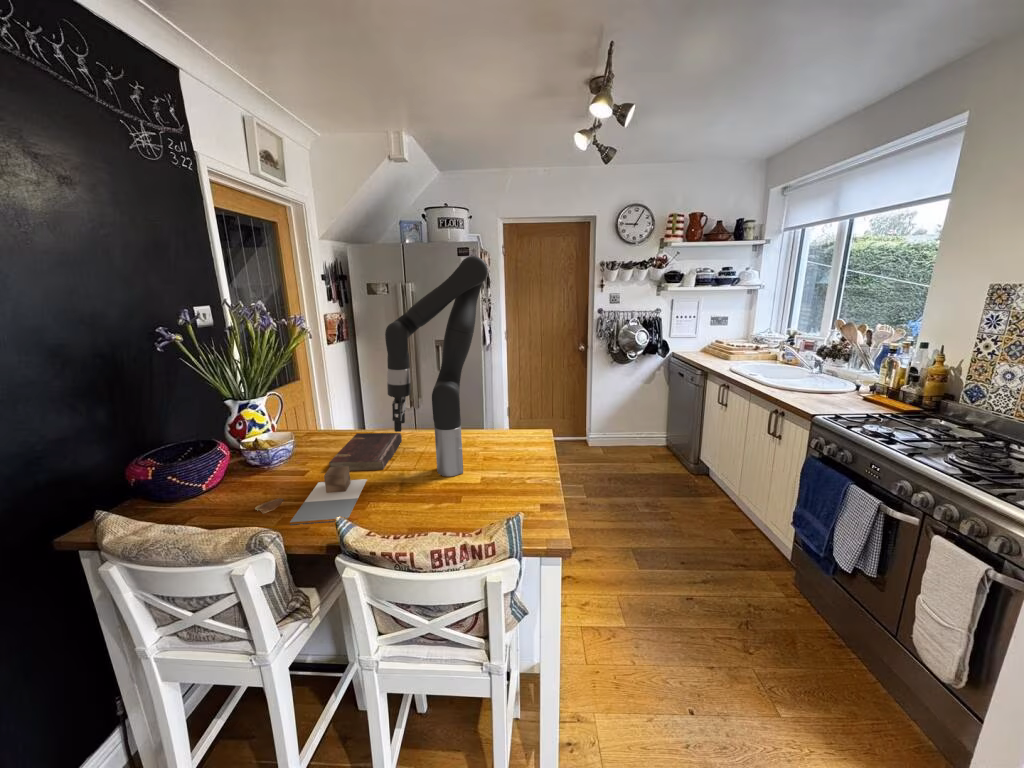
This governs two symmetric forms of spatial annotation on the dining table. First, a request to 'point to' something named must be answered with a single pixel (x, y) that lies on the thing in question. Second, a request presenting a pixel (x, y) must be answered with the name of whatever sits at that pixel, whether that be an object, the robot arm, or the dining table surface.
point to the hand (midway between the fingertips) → (399, 427)
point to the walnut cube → (337, 479)
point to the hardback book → (367, 451)
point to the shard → (269, 505)
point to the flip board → (329, 503)
